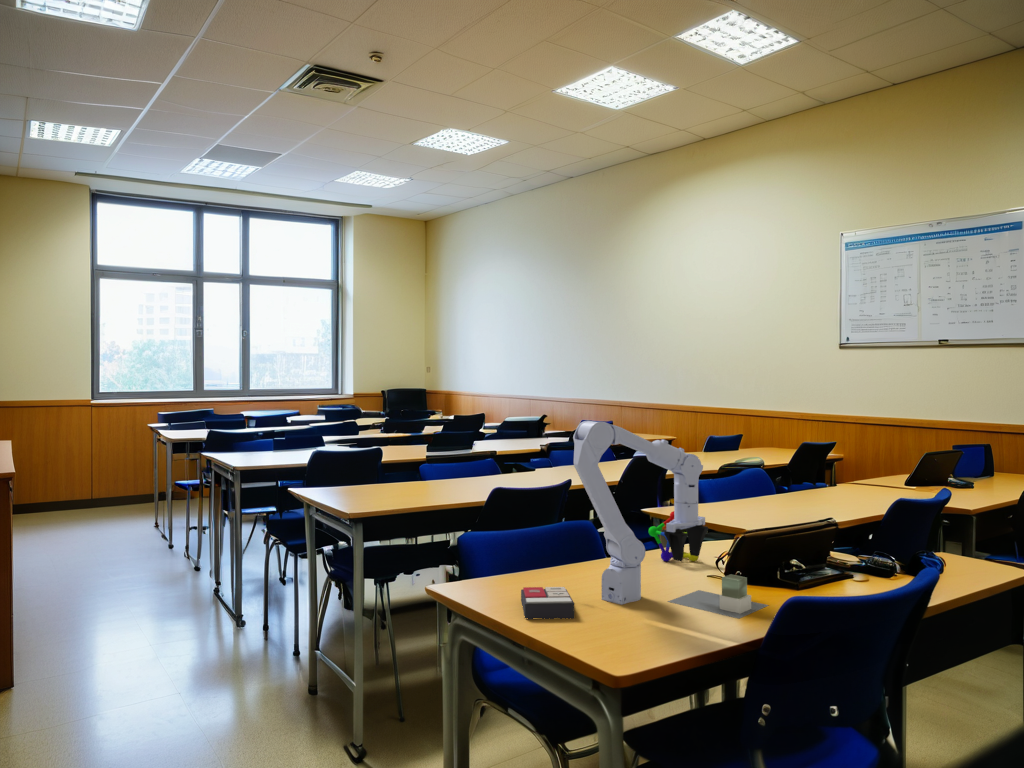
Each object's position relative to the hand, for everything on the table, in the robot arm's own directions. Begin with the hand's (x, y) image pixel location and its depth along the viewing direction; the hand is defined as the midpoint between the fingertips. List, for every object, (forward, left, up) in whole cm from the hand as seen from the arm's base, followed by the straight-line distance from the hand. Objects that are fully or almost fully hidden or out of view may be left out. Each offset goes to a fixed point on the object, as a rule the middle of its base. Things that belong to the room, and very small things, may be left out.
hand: (686, 557), depth 174 cm
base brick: (-4, -15, -8) cm, 18 cm away
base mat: (-3, -10, -9) cm, 14 cm away
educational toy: (+31, +23, -10) cm, 40 cm away
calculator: (-32, +17, -10) cm, 37 cm away
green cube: (-4, -15, -5) cm, 16 cm away
